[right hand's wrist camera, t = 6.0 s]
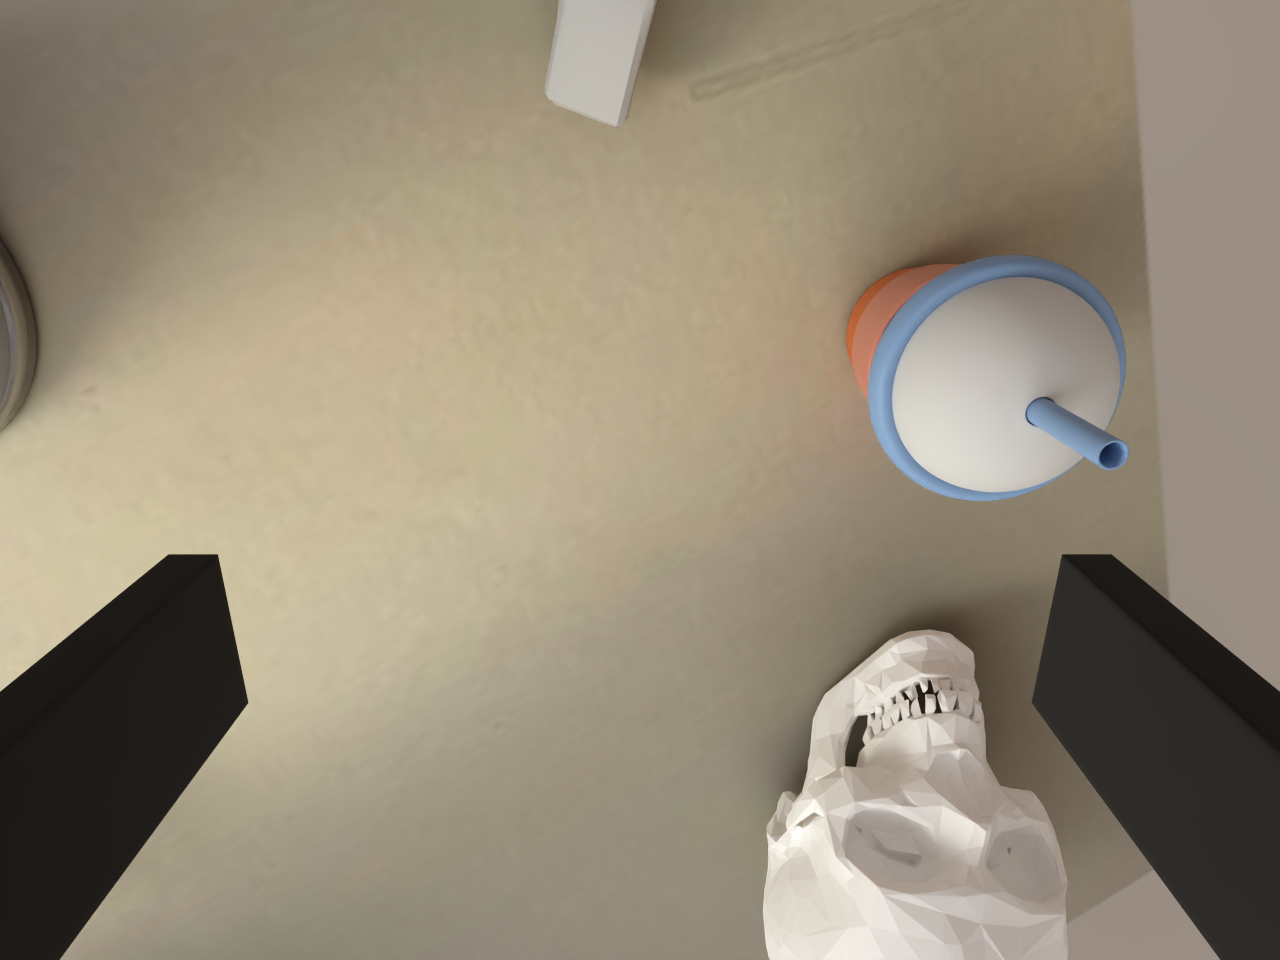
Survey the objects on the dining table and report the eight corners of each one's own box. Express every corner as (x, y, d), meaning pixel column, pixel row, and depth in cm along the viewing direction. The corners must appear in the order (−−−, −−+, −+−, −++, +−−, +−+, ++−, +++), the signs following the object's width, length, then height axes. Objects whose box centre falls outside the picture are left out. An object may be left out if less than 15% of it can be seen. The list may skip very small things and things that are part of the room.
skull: (1035, 620, 45) (1216, 842, 30) (944, 915, 52) (1052, 1208, 38) (793, 596, 45) (855, 807, 30) (739, 895, 52) (766, 1180, 38)
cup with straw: (1019, 234, 37) (1330, 286, 21) (989, 423, 41) (1235, 601, 24) (822, 233, 37) (971, 285, 21) (807, 423, 41) (925, 601, 24)
